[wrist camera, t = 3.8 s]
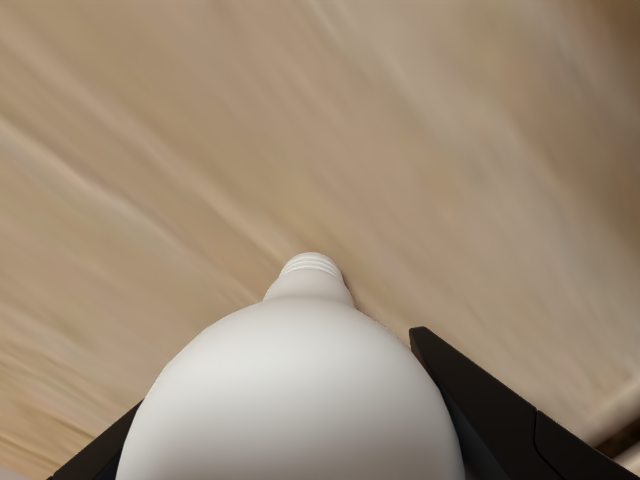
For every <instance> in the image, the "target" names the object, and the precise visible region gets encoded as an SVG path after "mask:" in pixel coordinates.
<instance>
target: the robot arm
mask: <svg viewBox="0 0 640 480" xmlns="http://www.w3.org/2000/svg"><path fill="white" fill-rule="evenodd" d="M409 337H410V344H411V352H412V353H413V354H414V356H415V357H416V358H417V360H418V361H419V362H420V364H421V365H422V366H423V368H424V369H425V370H426V372H427V373H428V375H429V376H430V377H431V379H432V380H433V382H434V383H435V385H436V386H437V387H438V389H439V391H440V393H441V395H442V398H443V400H444V403H445V405H446V407H447V410H448V412H449V415H450V417H451V420H452V423H453V425H454V428H455V431H456V433H457V436H458V439H459V444H460V450H461V455H462V460H463V465H464V470H465V480H640V477H638V476H637V475H635V474H634V473H632V472H630V471H629V470H627V469H625V468H624V467H622V466H621V465H619V464H618V463H616V462H614V461H613V460H611V459H610V458H608V457H607V456H605V455H604V454H602V453H601V452H599V451H597V450H596V449H594V448H593V447H591V446H590V445H588V444H587V443H585V442H584V441H582V440H581V439H579V438H578V437H576V436H575V435H574V434H572V433H571V432H569V431H568V430H566V429H565V428H564V427H562V426H561V425H559V424H558V423H556V422H555V421H554V420H552V419H551V418H550V417H548V416H547V415H545V414H544V413H543V412H541V411H540V410H538V411H537V409H536V407H534V406H533V405H532V404H530V403H529V402H527V401H526V400H525V399H523V398H522V397H521V396H519V395H518V394H517V393H515V392H514V391H512V390H511V389H510V388H508V387H507V386H506V385H504V384H503V383H501V382H500V381H499V380H497V379H496V378H495V377H493V376H492V375H491V374H489V373H488V372H486V371H485V370H484V369H482V368H481V367H480V366H478V365H477V364H475V363H474V362H473V361H471V360H470V359H469V358H467V357H466V356H465V355H463V354H462V353H460V352H459V351H458V350H456V349H455V348H454V347H452V346H451V345H449V344H448V343H447V342H445V341H444V340H443V339H441V338H440V337H439V336H437V335H436V334H434V333H433V332H432V331H430V330H429V329H428V328H426V327H424V326H421V327H415V328H410V329H409ZM144 399H145V398H144ZM144 399H143V400H144ZM143 400H142V401H140V402H139V403H138V404H137V405H136V406H134V407H133V408H132V409H131V410H130V411H128V412H127V413H126V414H125V415H124V416H122V417H121V418H120V419H119V420H118V421H116V422H115V423H114V424H113V425H112V426H110V427H109V428H108V429H107V430H106V431H104V432H103V433H102V434H101V435H100V436H98V437H97V438H96V439H95V440H93V441H92V442H91V443H90V444H89V445H87V446H86V447H85V448H84V449H83V450H81V451H80V452H79V453H78V454H77V455H75V456H74V457H73V458H72V459H71V460H69V461H68V462H67V463H66V464H65V465H63V466H62V467H61V468H60V469H59V470H57V471H56V472H55V473H54V475H53V476H50V477H49V478H48V479H46V480H115V479H116V475H117V470H118V465H119V462H120V458H121V454H122V450H123V447H124V443H125V440H126V438H127V435H128V433H129V430H130V428H131V425H132V422H133V420H134V417H135V415H136V412H137V410H138V409H139V407H140V405H141V404H142V402H143Z"/></svg>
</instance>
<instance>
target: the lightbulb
mask: <svg viewBox="0 0 640 480" xmlns="http://www.w3.org/2000/svg"><path fill="white" fill-rule="evenodd" d="M115 480H465V470H464V465H463V460H462V455H461V450H460V444H459V439H458V436H457V433H456V431H455V428H454V425H453V423H452V420H451V417H450V415H449V412H448V410H447V407H446V405H445V403H444V400H443V398H442V395H441V393H440V391H439V389H438V387H437V386H436V385H435V383H434V382H433V380H432V379H431V377H430V376H429V375H428V373H427V372H426V370H425V369H424V368H423V366H422V365H421V364H420V362H419V361H418V360H417V358H416V357H415V356H414V354H413V353H412V352H411V350H410V349H409V348H408V347H407V346H406V345H405V344H404V343H403V342H402V341H401V340H400V339H398V338H397V337H396V336H395V335H394V334H393V333H392V332H391V331H389V330H388V329H386V328H385V327H383V326H382V325H380V324H379V323H377V322H376V321H374V320H373V319H371V318H370V317H368V316H367V315H365V314H363V313H362V312H360V311H358V310H356V308H355V305H354V301H353V298H352V296H351V294H350V292H349V290H348V289H347V287H346V286H345V285H344V281H343V277H342V275H341V271H340V269H339V267H338V266H337V264H336V263H335V262H334V261H333V260H332V259H330V258H329V257H327V256H325V255H323V254H320V253H315V252H307V253H302V254H299V255H296V256H295V257H293V258H291V259H290V260H289V261H288V262H287V263H286V264H285V266H284V267H283V270H282V271H281V273H280V275H279V278H278V279H277V280H276V281H275V282H274V283H273V284H272V285H271V286H270V288H269V289H268V291H267V292H266V295H265V297H264V299H263V301H262V302H259V303H256V304H253V305H251V306H248V307H246V308H243V309H241V310H239V311H236V312H234V313H232V314H230V315H227V316H225V317H224V318H222V319H220V320H219V321H217V322H215V323H214V324H212V325H211V326H209V327H207V328H206V329H204V330H203V331H202V332H201V333H200V334H199V335H198V336H196V337H195V338H194V339H193V340H192V341H191V342H190V343H189V344H188V345H187V346H186V347H185V348H184V349H183V350H182V351H181V352H179V353H178V354H177V355H176V356H175V357H174V358H173V359H172V360H171V361H170V362H169V363H168V364H167V365H166V366H165V367H164V369H163V370H162V372H161V374H160V375H159V377H158V378H157V380H156V381H155V383H154V384H153V386H152V388H151V389H150V391H149V392H148V394H147V396H146V397H145V399H144V400H143V402H142V404H141V405H140V407H139V409H138V410H137V412H136V415H135V417H134V420H133V422H132V425H131V428H130V430H129V433H128V435H127V438H126V440H125V443H124V447H123V450H122V454H121V458H120V462H119V465H118V470H117V475H116V479H115Z"/></svg>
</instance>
